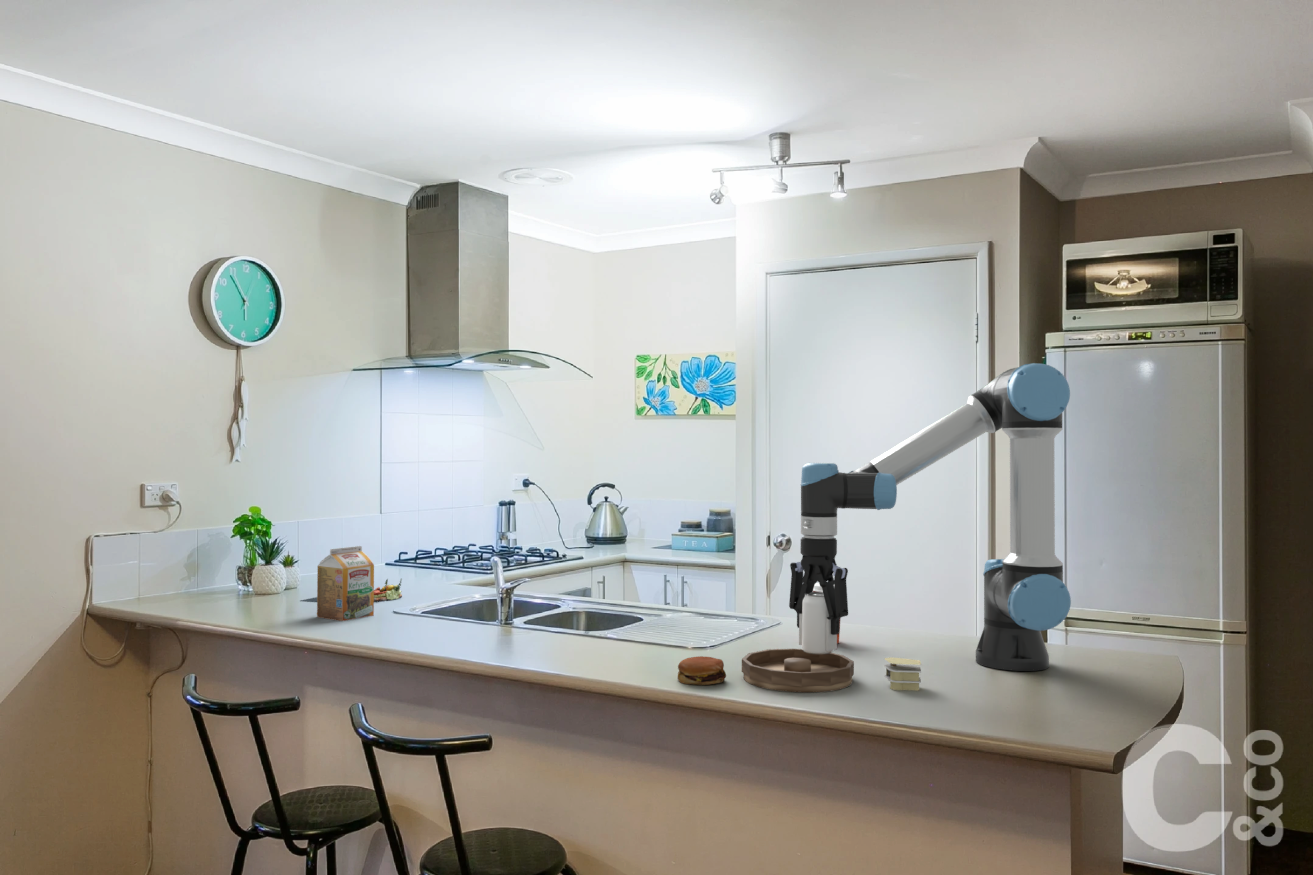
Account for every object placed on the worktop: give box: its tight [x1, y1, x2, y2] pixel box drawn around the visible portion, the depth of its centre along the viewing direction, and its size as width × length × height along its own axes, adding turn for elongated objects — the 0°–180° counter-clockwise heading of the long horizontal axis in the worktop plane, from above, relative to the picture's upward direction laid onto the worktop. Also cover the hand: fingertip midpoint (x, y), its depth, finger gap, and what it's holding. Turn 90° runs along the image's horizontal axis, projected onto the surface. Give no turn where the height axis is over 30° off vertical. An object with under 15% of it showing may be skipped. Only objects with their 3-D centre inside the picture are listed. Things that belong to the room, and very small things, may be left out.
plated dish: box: [300, 578, 403, 603], centre depth 297 cm, size 35×28×7 cm
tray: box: [741, 648, 855, 693], centre depth 197 cm, size 22×22×4 cm
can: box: [801, 592, 834, 654], centre depth 201 cm, size 6×6×12 cm
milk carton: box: [316, 545, 375, 622], centre depth 266 cm, size 11×11×19 cm
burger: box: [677, 655, 727, 686], centre depth 195 cm, size 10×10×5 cm
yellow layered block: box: [883, 656, 922, 692], centre depth 191 cm, size 10×9×6 cm
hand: (817, 646), depth 201 cm, fingers closed on can, 6 cm apart
